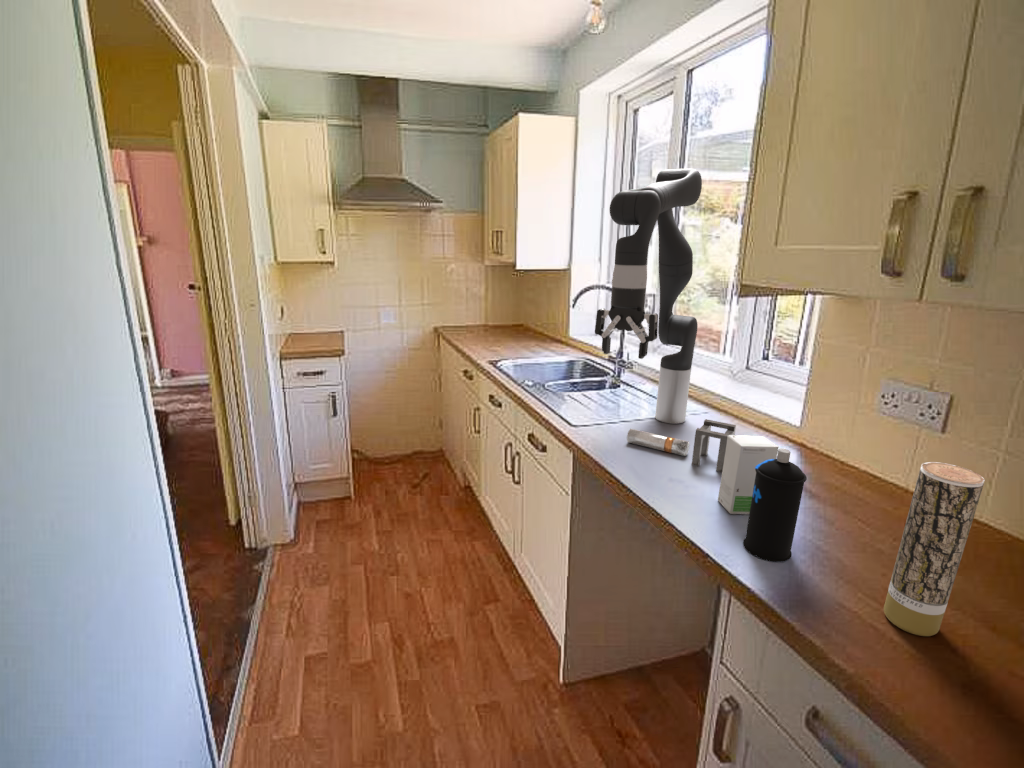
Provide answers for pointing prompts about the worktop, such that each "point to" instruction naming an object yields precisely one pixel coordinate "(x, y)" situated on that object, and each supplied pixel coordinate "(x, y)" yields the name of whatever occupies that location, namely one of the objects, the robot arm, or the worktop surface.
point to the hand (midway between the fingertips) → (623, 355)
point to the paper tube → (932, 546)
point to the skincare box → (742, 470)
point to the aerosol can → (774, 508)
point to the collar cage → (703, 441)
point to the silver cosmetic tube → (658, 442)
